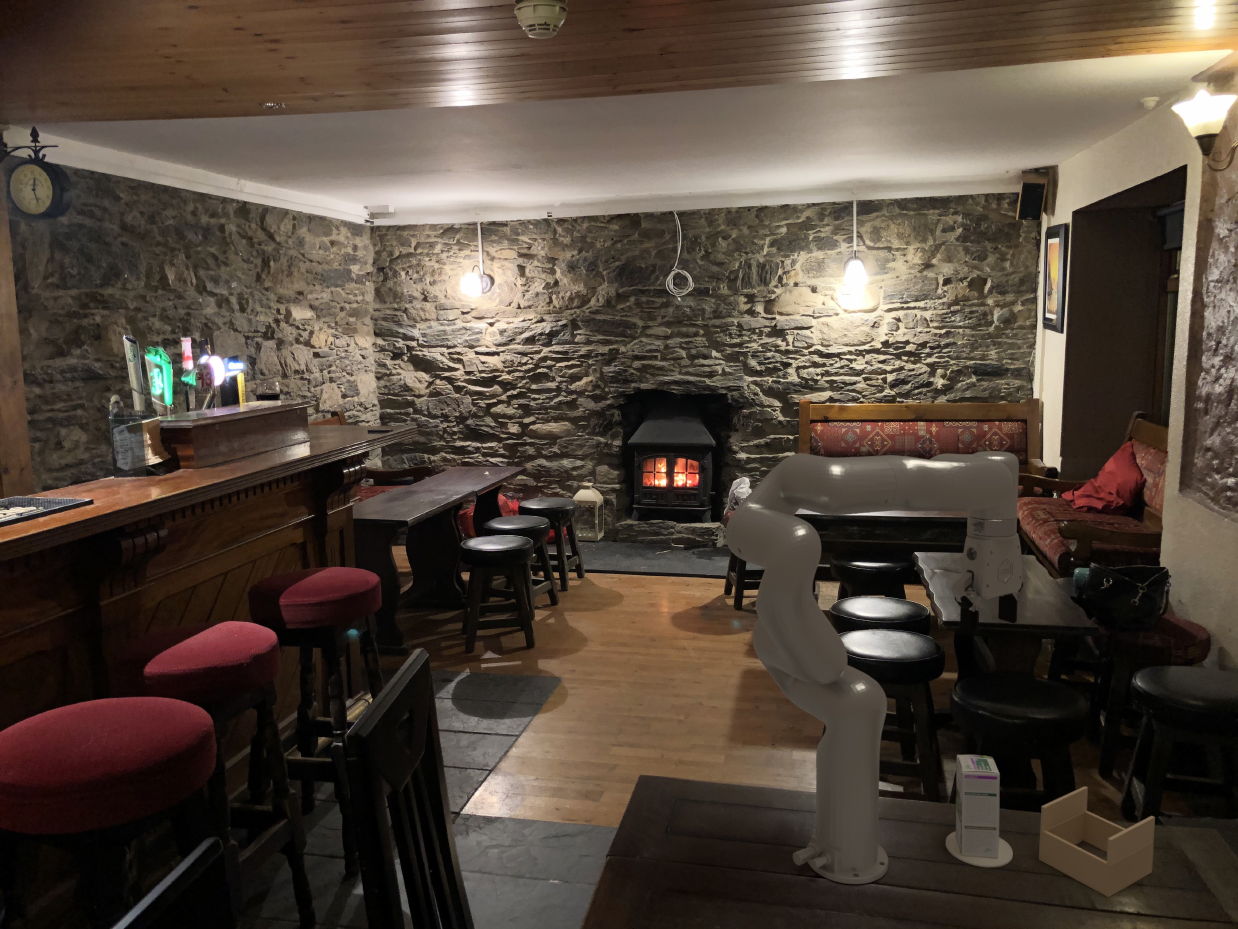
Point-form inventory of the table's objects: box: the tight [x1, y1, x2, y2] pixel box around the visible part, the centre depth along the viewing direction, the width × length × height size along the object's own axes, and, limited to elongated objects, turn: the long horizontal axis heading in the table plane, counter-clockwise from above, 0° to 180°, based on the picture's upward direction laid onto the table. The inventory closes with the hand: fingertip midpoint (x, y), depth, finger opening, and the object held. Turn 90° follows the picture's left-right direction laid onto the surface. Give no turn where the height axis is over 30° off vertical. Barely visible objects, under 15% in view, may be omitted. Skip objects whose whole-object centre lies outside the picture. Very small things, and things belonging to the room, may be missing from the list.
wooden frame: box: [1038, 786, 1156, 898], centre depth 136 cm, size 11×11×9 cm
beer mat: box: [945, 830, 1014, 869], centre depth 142 cm, size 10×10×1 cm
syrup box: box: [955, 754, 1001, 858], centre depth 141 cm, size 6×6×14 cm
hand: (988, 626), depth 148 cm, fingers open, 9 cm apart
